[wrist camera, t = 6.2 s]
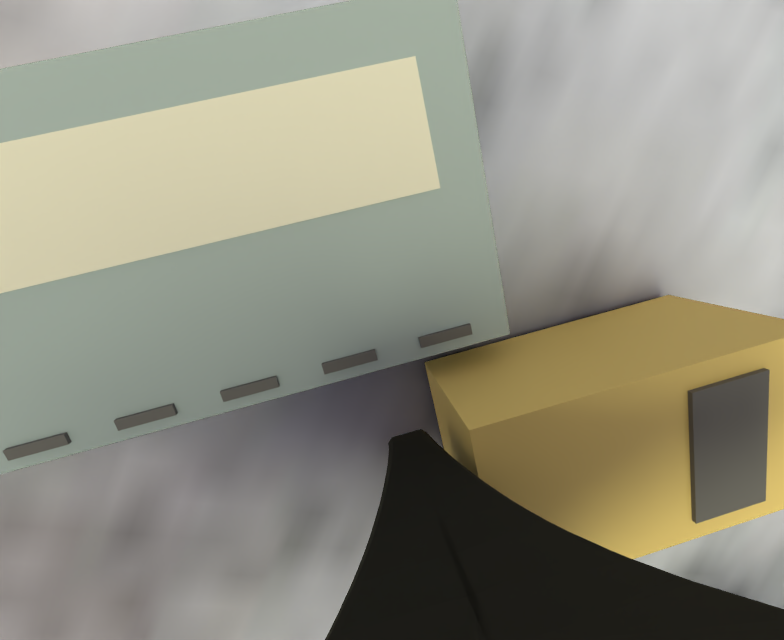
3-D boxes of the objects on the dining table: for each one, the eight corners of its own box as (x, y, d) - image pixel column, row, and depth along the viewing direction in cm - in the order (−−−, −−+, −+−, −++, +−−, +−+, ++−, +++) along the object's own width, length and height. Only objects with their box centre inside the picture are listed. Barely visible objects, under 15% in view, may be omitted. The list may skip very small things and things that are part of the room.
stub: (452, 488, 11) (506, 606, 8) (424, 362, 10) (471, 433, 7) (674, 421, 12) (815, 503, 8) (668, 294, 11) (827, 328, 7)
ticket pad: (-73, 471, 9) (-148, 517, 8) (-271, 162, 7) (-418, 146, 6) (487, 320, 10) (512, 335, 9) (435, 19, 9) (456, -23, 7)
